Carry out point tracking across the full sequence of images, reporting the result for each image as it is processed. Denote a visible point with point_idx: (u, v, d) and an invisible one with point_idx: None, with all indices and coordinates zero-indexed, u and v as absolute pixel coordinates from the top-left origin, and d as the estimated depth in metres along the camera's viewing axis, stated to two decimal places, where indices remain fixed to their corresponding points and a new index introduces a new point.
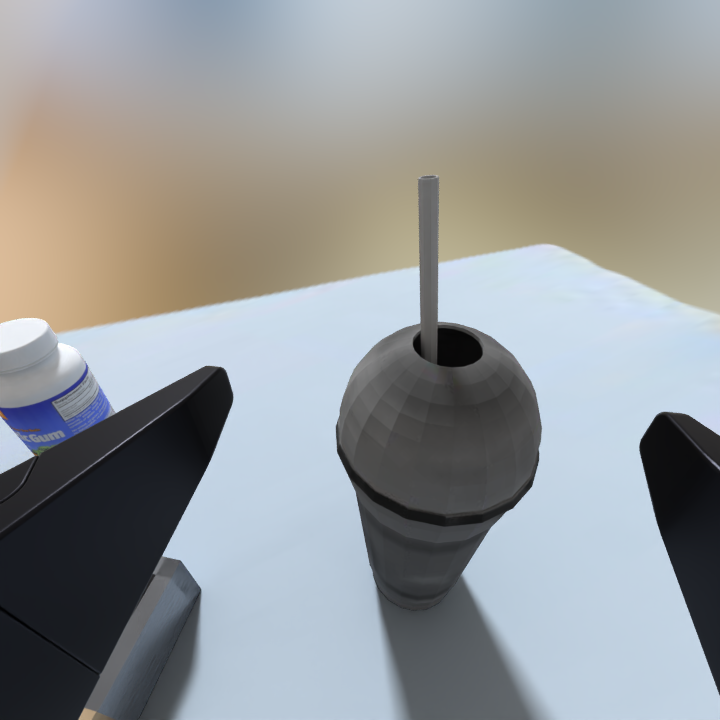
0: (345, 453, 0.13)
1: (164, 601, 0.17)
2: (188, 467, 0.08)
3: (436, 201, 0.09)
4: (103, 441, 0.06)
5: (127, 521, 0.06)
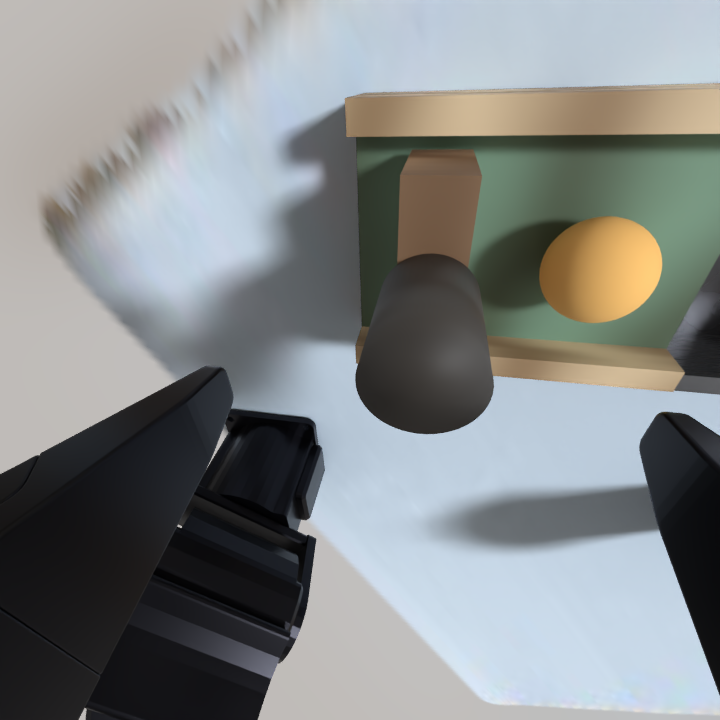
0: None
1: None
2: (188, 467, 0.08)
3: None
4: (103, 441, 0.06)
5: (127, 521, 0.06)
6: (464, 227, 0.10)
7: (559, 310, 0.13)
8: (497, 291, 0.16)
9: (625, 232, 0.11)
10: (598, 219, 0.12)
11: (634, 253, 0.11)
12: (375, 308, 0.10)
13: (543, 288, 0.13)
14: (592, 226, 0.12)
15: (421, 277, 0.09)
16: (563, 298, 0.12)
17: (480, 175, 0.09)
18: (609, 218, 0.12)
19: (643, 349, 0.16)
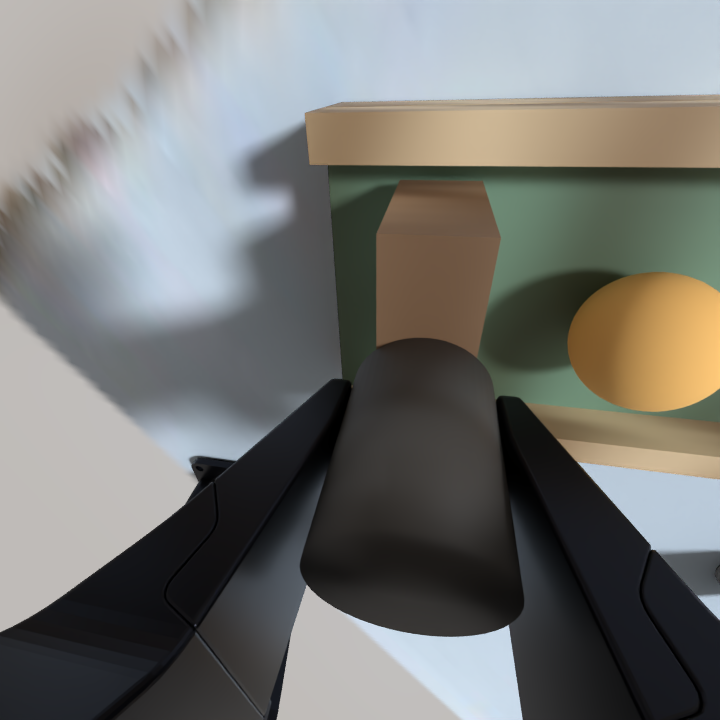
0: None
1: None
2: None
3: None
4: (275, 466, 0.06)
5: (293, 551, 0.06)
6: (472, 307, 0.07)
7: (595, 392, 0.10)
8: (510, 351, 0.13)
9: (696, 301, 0.08)
10: (653, 278, 0.09)
11: (710, 333, 0.08)
12: (341, 424, 0.07)
13: (574, 362, 0.10)
14: (646, 289, 0.09)
15: (408, 389, 0.06)
16: (603, 382, 0.09)
17: (498, 237, 0.06)
18: (669, 278, 0.09)
19: (692, 423, 0.13)
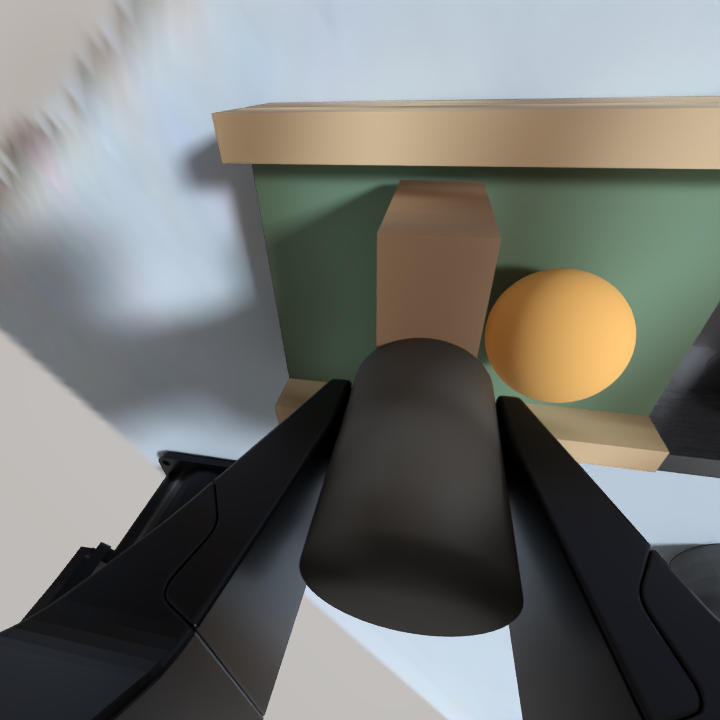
0: None
1: None
2: None
3: None
4: (275, 466, 0.06)
5: (293, 551, 0.06)
6: (472, 307, 0.07)
7: (507, 384, 0.10)
8: None
9: (586, 296, 0.08)
10: (553, 274, 0.09)
11: (596, 326, 0.08)
12: (341, 424, 0.07)
13: (488, 355, 0.10)
14: (544, 284, 0.09)
15: (408, 389, 0.06)
16: (509, 374, 0.10)
17: (499, 237, 0.06)
18: (567, 273, 0.09)
19: (620, 416, 0.13)
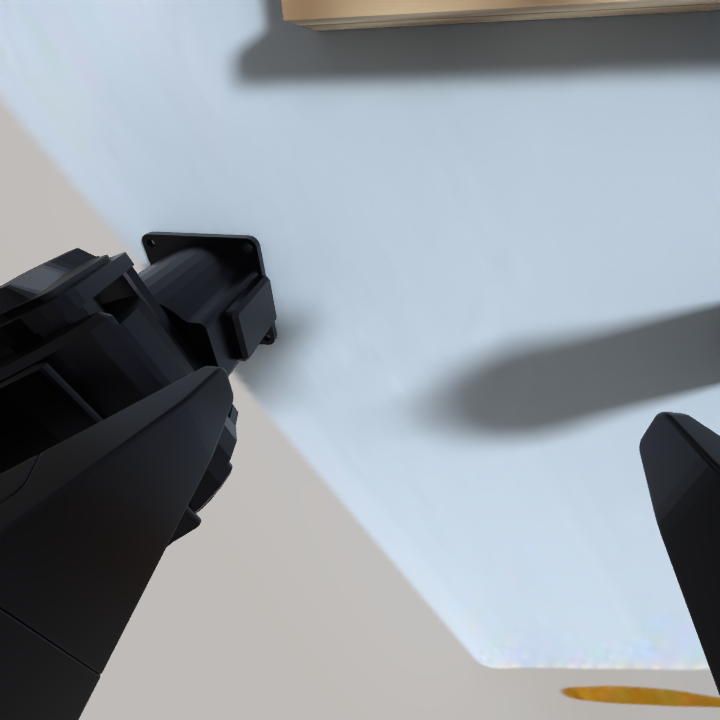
0: None
1: None
2: (188, 467, 0.08)
3: None
4: (103, 441, 0.06)
5: (127, 521, 0.06)
6: None
7: None
8: None
9: None
10: None
11: None
12: None
13: None
14: None
15: None
16: None
17: None
18: None
19: None
